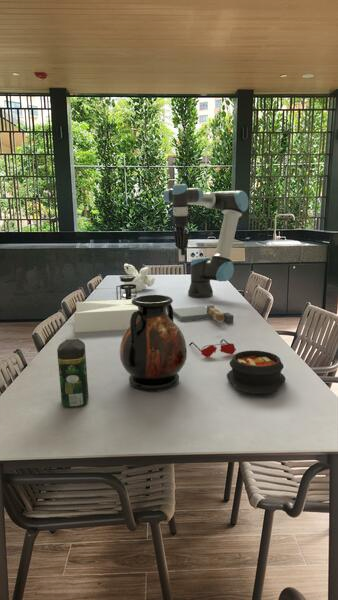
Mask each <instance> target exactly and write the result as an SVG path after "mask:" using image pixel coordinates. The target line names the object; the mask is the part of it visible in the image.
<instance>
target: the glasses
mask: <svg viewBox="0 0 338 600" xmlns="http://www.w3.org/2000/svg"><path fill="white" fill-rule="evenodd" d="M222 342H225V344H224V343H222ZM188 345H189V346H191V345H193V346H195V348H197V350H198V351H199V352H200V353H201V354H200V355H202V356H204V357H205V358H210V357H211V356H212V355H213V354H215V353H216V352H217V351H216V350H218V347H216V346H220V349H219V351H220V353H224V354H227V355H231V354H233V355H234V353H235V351H236V350H237V349H236V348H235V344H234V343H232V342H231V343H229V342H227V340H225V339H224V338H223V339H221V340H220V343H219V344H217V343H216V345H215V344H210V345H204V346H203V347H202V348H201V349H200V348H199V346H197V345H196V344H195V342H193V341H192V342H190V343H189V344H188Z"/></svg>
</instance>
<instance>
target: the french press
mask: <svg viewBox="0 0 338 600" xmlns="http://www.w3.org/2000/svg"><path fill="white" fill-rule="evenodd" d="M129 265H130V264H128V265H126V266H124V265H123V268H124V267H126V269H127V273H126V275H121V276H119V278H120V279H119V280H120V282H121V283H122V282H123V283H122V284H120V285H116V287H115V289H116V300H122V299H124V300H128V299H134V298H135V297H138V296H137V294H136V293H135V294H134V293H132V292H131V289H136V285H135V284H124V282H132V281H133V280H134V279H135V278H136V276H132V275H130V274H128V267H131V266H129ZM126 286H128V287H126ZM131 286H132V287H131ZM118 288H119V292H118ZM122 290H124V291H125V292H124V294H122ZM119 295H120V296H119Z"/></svg>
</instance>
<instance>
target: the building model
mask: <svg viewBox="0 0 338 600" xmlns="http://www.w3.org/2000/svg"><path fill="white" fill-rule="evenodd" d="M132 299H133V298H131V299H128V300H125V299H121V300H120V299H118V300H117V299H113V300H94V301H93V300H92V301H76V302H75V307H76V312H73V321H74V333H85V332H86V333H88V332H89V333H91V332H105V331H122V330H127V328H128V327H129V326H130V319H131V316H132V314H133V312H135V311H139V310H138V307H137V306H135V305H133V304H132V302H131V301H132ZM166 313H167V315H168V312H167V307H166Z"/></svg>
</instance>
